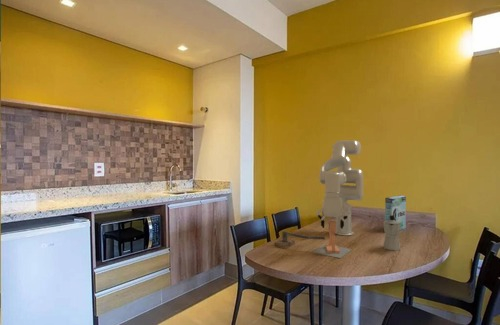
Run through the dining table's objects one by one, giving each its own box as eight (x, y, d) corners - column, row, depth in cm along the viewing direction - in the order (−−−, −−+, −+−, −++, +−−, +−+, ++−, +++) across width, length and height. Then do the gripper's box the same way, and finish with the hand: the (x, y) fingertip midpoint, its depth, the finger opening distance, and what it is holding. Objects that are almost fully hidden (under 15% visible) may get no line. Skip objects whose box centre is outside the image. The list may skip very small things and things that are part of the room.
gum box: (399, 227, 206) (399, 195, 205) (406, 228, 202) (406, 196, 201) (384, 231, 194) (384, 197, 194) (391, 232, 190) (392, 198, 190)
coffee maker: (400, 252, 149) (400, 218, 149) (381, 250, 154) (382, 216, 154) (401, 245, 163) (401, 213, 162) (384, 243, 167) (384, 212, 167)
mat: (325, 244, 163) (325, 244, 163) (351, 250, 154) (351, 249, 154) (312, 252, 150) (312, 251, 150) (340, 258, 141) (340, 257, 141)
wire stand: (284, 241, 169) (284, 229, 169) (325, 250, 153) (325, 236, 153) (274, 245, 161) (274, 232, 161) (317, 255, 145) (317, 240, 145)
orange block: (325, 246, 159) (325, 218, 158) (336, 247, 158) (336, 219, 158) (327, 252, 148) (327, 223, 148) (339, 253, 147) (339, 223, 147)
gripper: (348, 194, 155) (347, 226, 155) (315, 194, 157) (315, 225, 157) (350, 196, 147) (350, 230, 148) (316, 196, 150) (316, 228, 150)
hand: (332, 227), depth 152 cm, fingers open, 9 cm apart
